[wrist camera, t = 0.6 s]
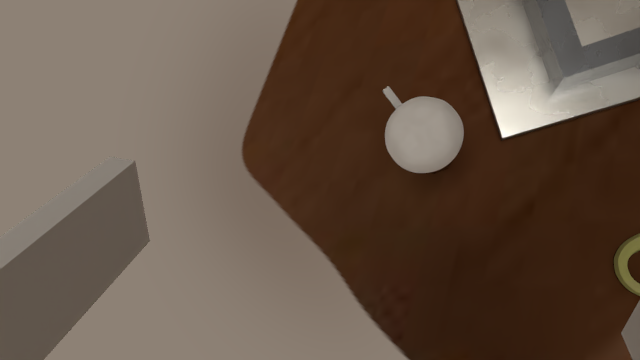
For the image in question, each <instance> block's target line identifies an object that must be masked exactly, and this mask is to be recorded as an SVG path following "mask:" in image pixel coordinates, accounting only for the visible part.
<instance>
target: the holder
mask: <svg viewBox="0 0 640 360" xmlns="http://www.w3.org/2000/svg"><path fill="white" fill-rule="evenodd" d="M456 3H457V6H458V9H459V12H460V15H461V18H462V21H463V24H464V27H465V30H466V33H467V36H468V40H469V43H470V46H471V49H472V52H473V55H474V58H475V61H476V64H477V67H478V70H479V73H480V76H481V79H482V82H483V86H484V89H485V92H486V95H487V98H488V101H489V104H490V107H491V110H492V113H493V116H494V119H495V122H496V125H497V128H498V132H499V135H500V138H501V141H502V140H505V139H509V138H512V137H515V136H519V135H522V134H525V133H529V132H532V131H536V130H539V129H542V128H546V127H549V126H552V125H556V124H559V123H562V122H566V121H569V120H573V119H576V118H579V117H583V116H586V115H589V114H593V113H596V112H600V111H603V110H606V109H610V108H613V107H616V106H620V105H623V104H626V103H630V102H633V101H637V100H640V0H456Z"/></svg>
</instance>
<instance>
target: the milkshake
mask: <svg viewBox="0 0 640 360" xmlns="http://www.w3.org/2000/svg"><path fill="white" fill-rule="evenodd" d="M383 93H384V94H385V96H386V97H387V98H388V99H389V101H390V102H391V103H392V105H393V106H394V107H395V108H396V110H395V111H394V112H393V114H392V115H391V116H390V118H389V120H388V122H387V125H386V129H385V143H386V147H387V150H388V152H389V154H390V155H391V157H392V158H393V160H394V161H395V162H396V163H397V164H398V165H399V166H401V167H402V168H404V169H406V170H408V171H410V172H414V173H432V174H435V173H438V172H440V171H443V170H446V169H448V167H449V166H450V164H451V163H452V161H453V160H454V158H455V157H456V155H457V154H458V152H459V150H460V148H461V145H462V142H463V137H464V128H463V124H462V121H461V118H460V117H459V115H458V113H457V112H456V111H455V110H454V108H453V107H452V106H451V105H450V104H448V103H447V102H445V101H444V100H441V99H438V98H433V97H425V96H422V97H416V98H413V99H410V100H408V101H406V102H405V103H403V104H402V103H401V102H400V100H399V99H398V98H397V96H396V95H395V94H394V92H393V91H392V90H391V88H390V87H389V86H387V87H386V88H385V89H384V90H383Z"/></svg>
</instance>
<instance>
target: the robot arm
mask: <svg viewBox="0 0 640 360" xmlns="http://www.w3.org/2000/svg"><path fill="white" fill-rule="evenodd" d="M149 241H150V240H149V235H148V229H147V224H146V218H145V213H144V207H143V201H142V196H141V191H140V185H139V180H138V174H137V169H136V163H135V161H133V160H127V159H121V158H115V157H109V158H107V159H106V160H105V161H103V162H102V163H101V164H99V165H98V166H96V167H95V168H94V169H92V170H91V171H90V172H88V173H87V174H85V175H84V176H83V177H82V178H80V179H79V180H77V181H76V182H75V183H73V184H72V185H70V186H69V187H68V188H66V189H65V190H64V191H62V192H61V193H60V194H58V195H57V196H55V197H54V198H53V199H51V200H50V201H48V202H47V203H46V204H44V205H43V206H42V207H41V208H39V209H38V210H36V211H35V212H33V213H32V214H31V215H29V216H28V217H27V218H25V219H24V220H23V221H21V222H20V223H18V224H17V225H16V226H14V227H13V228H12V229H10V230H9V231H7V232H6V233H5V234H3V235H2V236H1V237H0V360H44V359H45V357H46V356H47V355H48V354H49V353H50V352H51V351H52V350H53V349H54V347H55V346H56V345H57V344H58V343H59V342H60V341H61V340H62V339H63V337H64V336H65V335H66V334H67V333H68V332H69V331H70V330H71V328H72V327H73V326H74V325H75V324H76V323H77V322H78V321H79V320H80V318H81V317H82V316H83V315H84V314H85V313H86V312H87V311H88V309H89V308H90V307H91V306H92V305H93V304H94V303H95V302H96V301H97V299H98V298H99V297H100V296H101V295H102V294H103V293H104V292H105V290H106V289H107V288H108V287H109V286H110V285H111V284H112V283H113V281H114V280H115V279H116V278H117V277H118V276H119V275H120V274H121V273H122V271H123V270H124V269H125V268H126V267H127V266H128V265H129V264H130V262H131V261H132V260H133V259H134V258H135V257H136V256H137V255H138V254H139V252H140V251H141V250H142V249H143V248H144V247H145V246H146V245H147V243H148V242H149ZM621 334H622V336H623V339H624V341H625V343H626V346H627V348H628V350H629V353H630V355H631V357H632V360H640V300H639V302H638V304H637V306H636V307H635V309H634V311H633V313H632V315H631V316H630V318H629V320H628V322H627V324H626V325H625V327H624V329H623V331H622V332H621Z"/></svg>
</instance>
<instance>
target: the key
mask: <svg viewBox="0 0 640 360" xmlns="http://www.w3.org/2000/svg"><path fill="white" fill-rule="evenodd" d="M638 251H640V233H639V234H637V235H635V236H633V237H631V238H629V239H628V240H626V241H625V242H624V243H623V244H622V245H621V246H620V247H619V249H618V250H617V251H616V254H615V257H614V269H615V274H616V275H617V277H618V279H619V281H620V282H621V283H622V284H623V285H624V286H625V287H626V288H627V289H628V290H629V291H631V292H632V293H634V294H636V295H638V296H640V283H637V282H636V281H635V280H634V279H633V278H632V277H631V275H630V273H629V271H628V267H627V262H628V259H629V257H630V256H631V255H632V254H634V253H636V252H638Z"/></svg>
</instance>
